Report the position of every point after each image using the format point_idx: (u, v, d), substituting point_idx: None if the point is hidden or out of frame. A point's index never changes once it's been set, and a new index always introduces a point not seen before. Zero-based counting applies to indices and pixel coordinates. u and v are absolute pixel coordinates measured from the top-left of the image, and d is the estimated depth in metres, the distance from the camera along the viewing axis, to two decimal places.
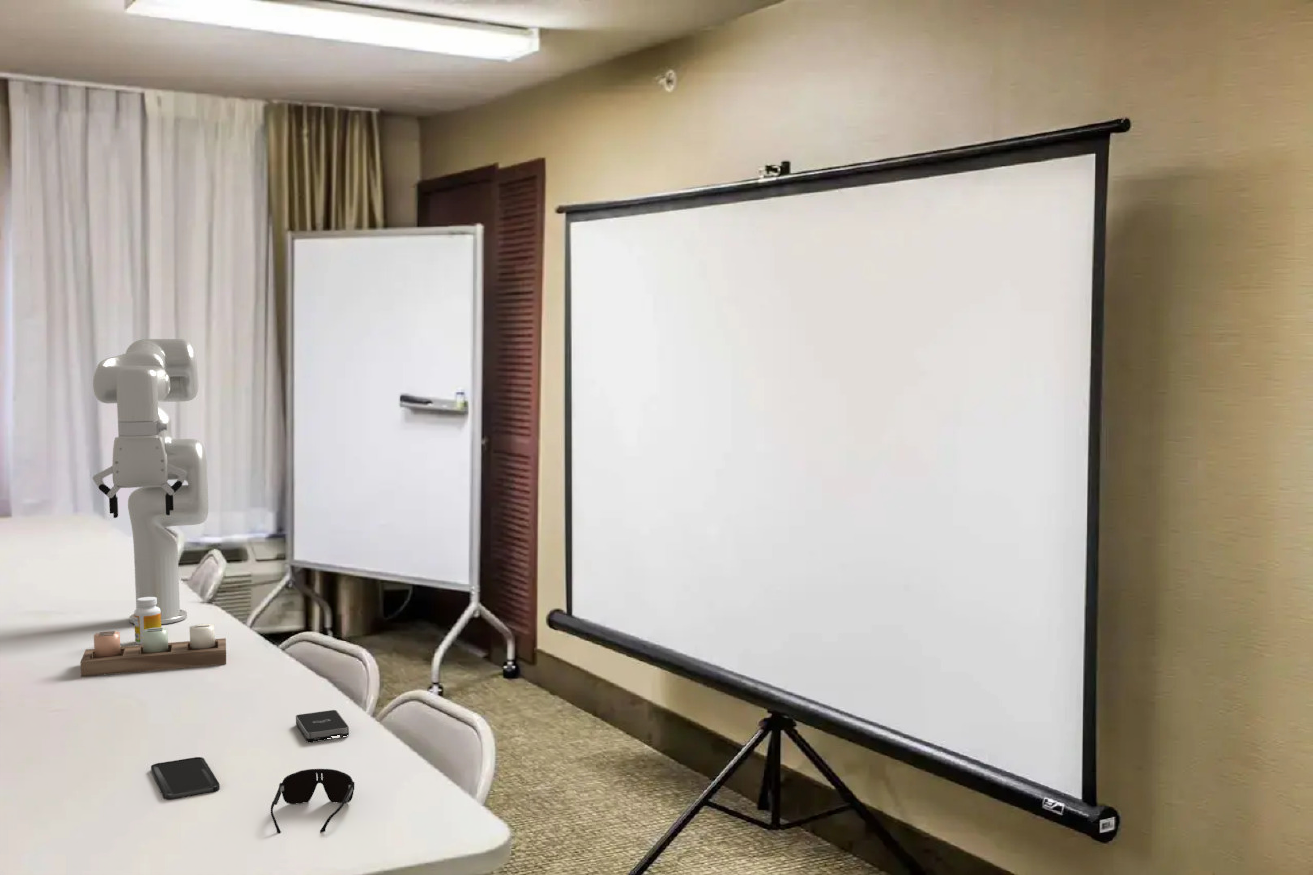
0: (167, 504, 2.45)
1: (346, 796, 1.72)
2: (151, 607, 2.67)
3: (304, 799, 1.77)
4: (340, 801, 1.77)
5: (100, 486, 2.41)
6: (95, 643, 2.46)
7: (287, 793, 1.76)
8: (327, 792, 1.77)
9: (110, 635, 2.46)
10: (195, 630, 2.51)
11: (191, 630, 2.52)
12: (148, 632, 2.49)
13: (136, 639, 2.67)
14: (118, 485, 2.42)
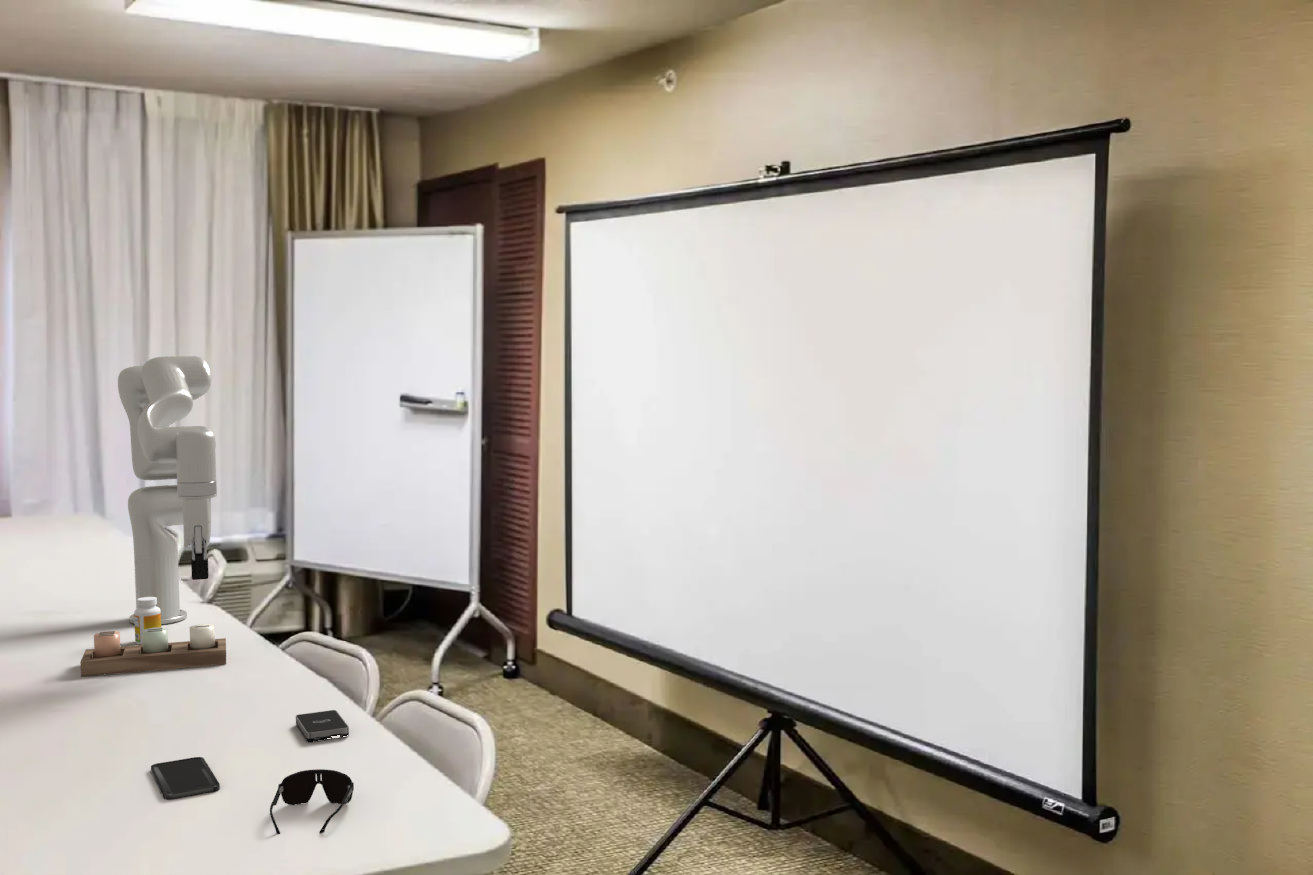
0: None
1: (345, 797, 1.72)
2: (151, 607, 2.67)
3: (303, 799, 1.77)
4: (339, 802, 1.76)
5: (203, 550, 2.50)
6: (95, 643, 2.46)
7: (286, 794, 1.76)
8: (326, 793, 1.77)
9: (110, 635, 2.46)
10: (195, 630, 2.51)
11: (191, 630, 2.52)
12: (148, 632, 2.49)
13: (136, 639, 2.67)
14: (208, 544, 2.49)
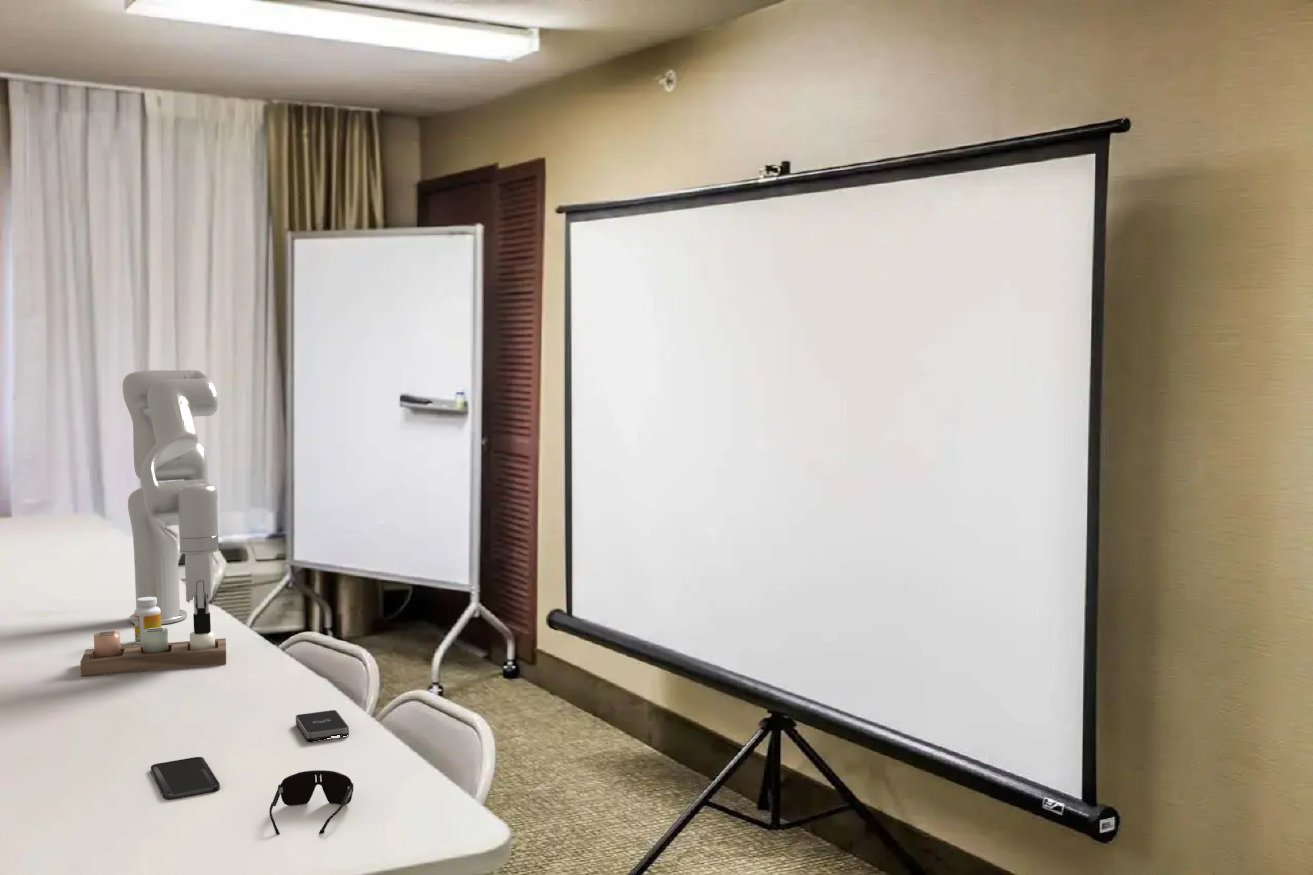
0: None
1: (345, 798, 1.72)
2: (151, 607, 2.68)
3: (303, 800, 1.76)
4: (339, 803, 1.76)
5: (205, 604, 2.51)
6: (95, 643, 2.46)
7: (286, 795, 1.76)
8: (326, 794, 1.76)
9: (110, 635, 2.46)
10: (195, 636, 2.51)
11: (191, 636, 2.52)
12: (148, 632, 2.49)
13: (136, 639, 2.67)
14: (210, 598, 2.50)
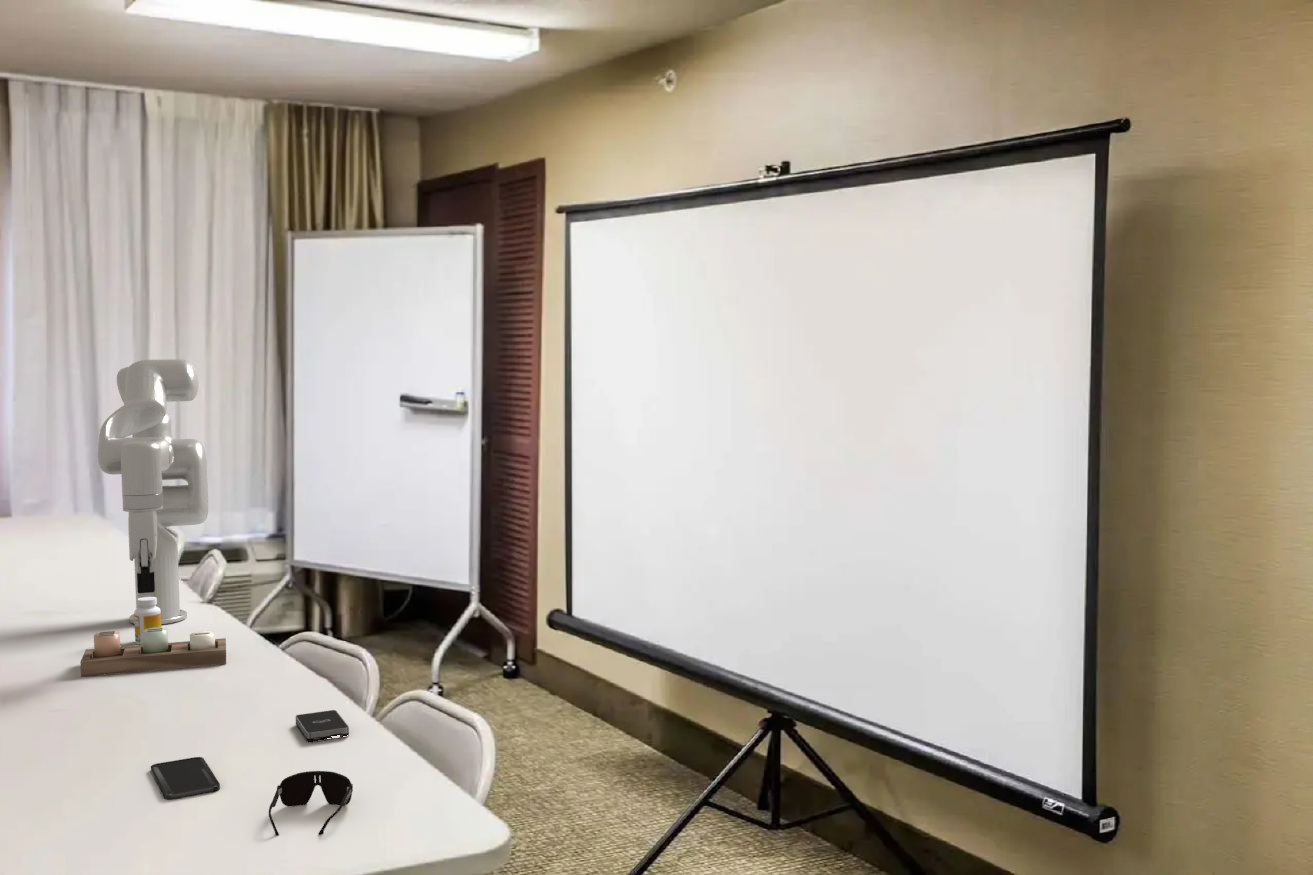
0: (154, 580, 2.50)
1: (344, 798, 1.71)
2: (151, 607, 2.67)
3: (302, 801, 1.76)
4: (338, 803, 1.76)
5: (149, 563, 2.46)
6: (95, 643, 2.46)
7: (285, 795, 1.75)
8: (325, 794, 1.76)
9: (110, 635, 2.46)
10: (195, 637, 2.51)
11: (191, 637, 2.52)
12: (148, 632, 2.49)
13: (136, 639, 2.67)
14: (154, 557, 2.46)
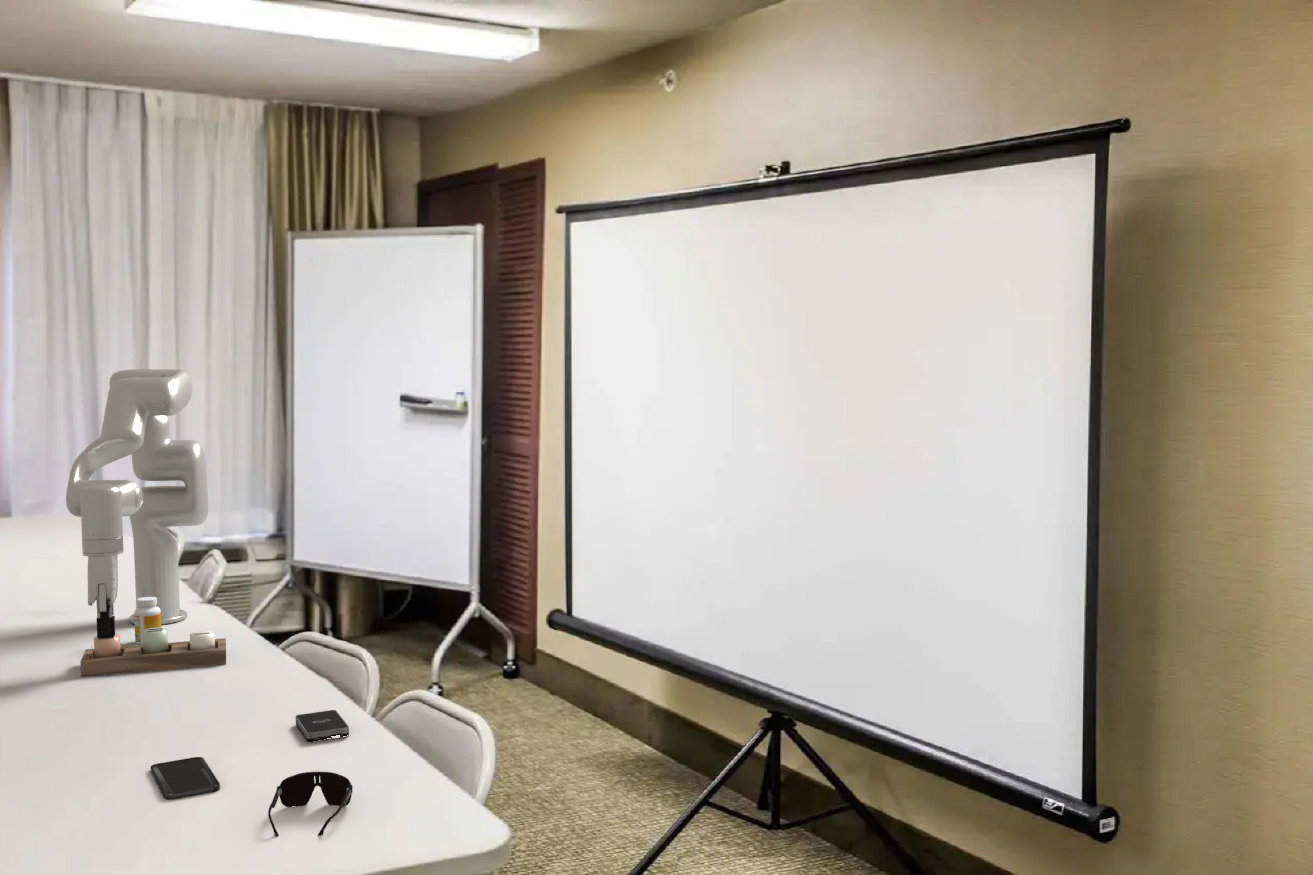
0: (114, 625, 2.48)
1: (344, 799, 1.71)
2: (151, 607, 2.67)
3: (302, 802, 1.76)
4: (338, 804, 1.76)
5: (108, 608, 2.44)
6: (95, 646, 2.46)
7: (285, 796, 1.75)
8: (325, 795, 1.76)
9: (110, 638, 2.46)
10: (195, 637, 2.51)
11: (191, 637, 2.52)
12: (148, 632, 2.49)
13: (136, 639, 2.67)
14: (113, 602, 2.44)
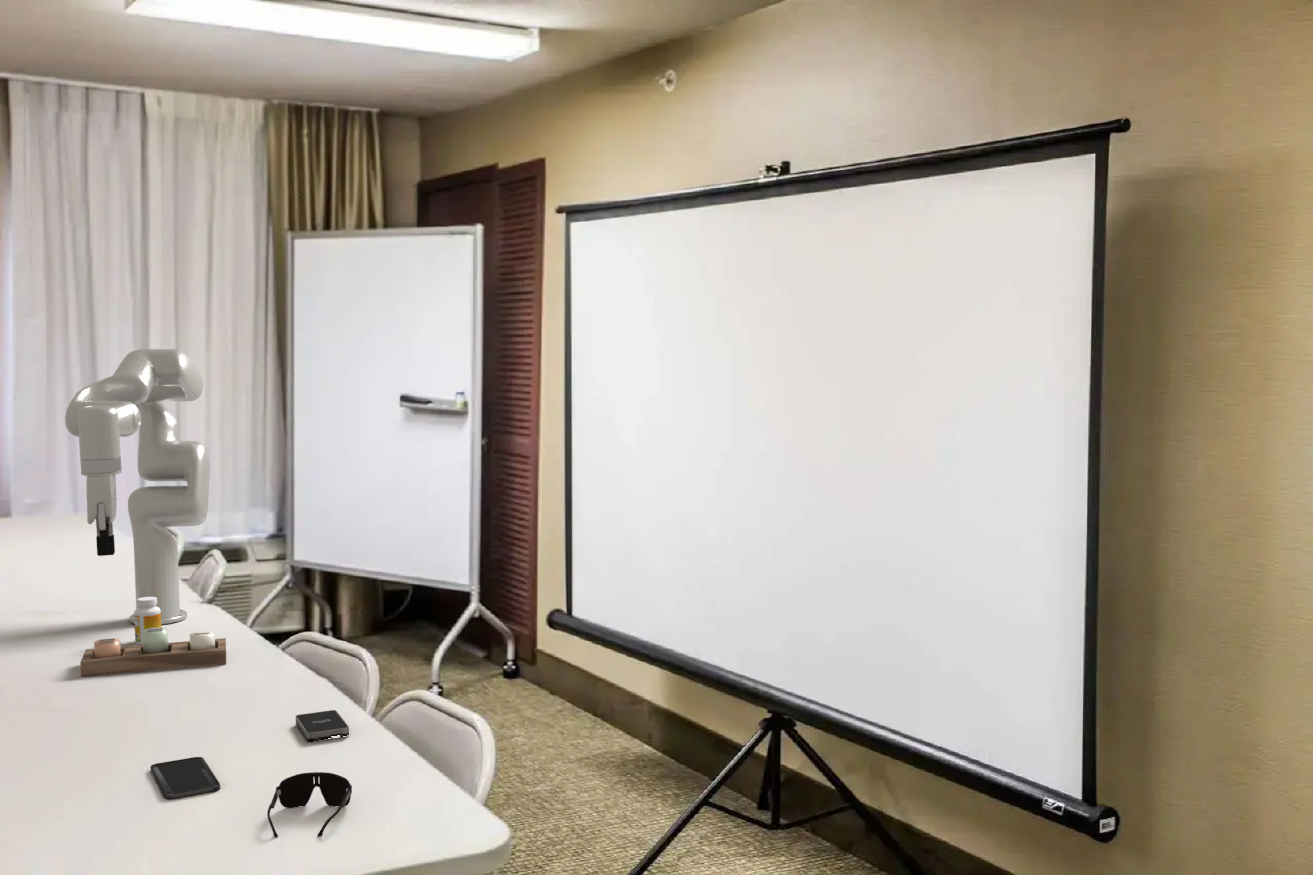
0: None
1: (343, 800, 1.71)
2: (151, 607, 2.68)
3: (301, 802, 1.75)
4: (337, 805, 1.75)
5: (107, 527, 2.49)
6: (95, 650, 2.46)
7: (284, 797, 1.75)
8: (324, 796, 1.76)
9: (110, 642, 2.46)
10: (195, 637, 2.51)
11: (191, 637, 2.52)
12: (148, 632, 2.49)
13: (136, 639, 2.67)
14: (112, 520, 2.48)
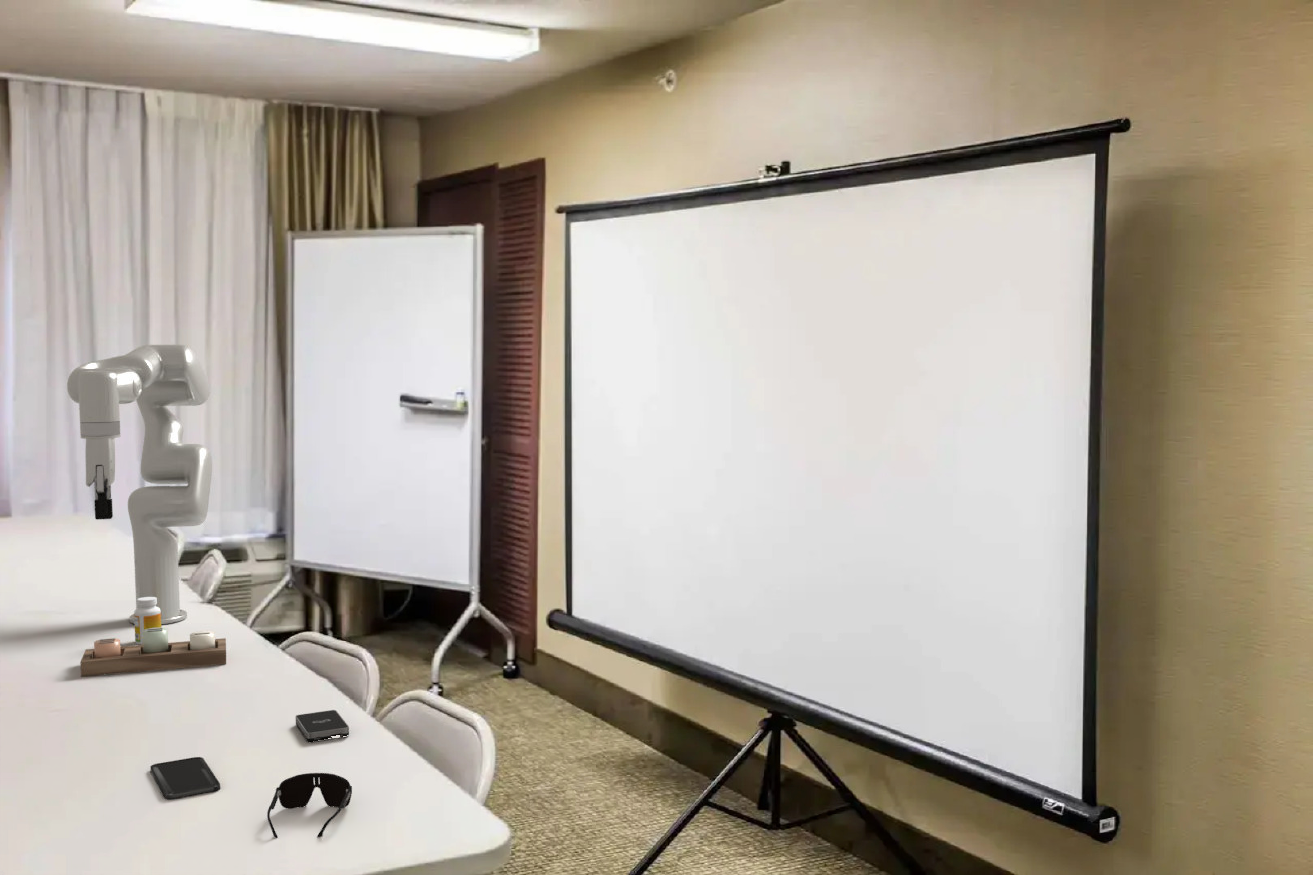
0: None
1: (343, 800, 1.71)
2: (151, 607, 2.67)
3: (301, 803, 1.75)
4: (337, 805, 1.75)
5: (106, 489, 2.52)
6: (95, 650, 2.46)
7: (284, 798, 1.74)
8: (324, 796, 1.75)
9: (110, 642, 2.46)
10: (195, 637, 2.51)
11: (191, 637, 2.52)
12: (148, 632, 2.49)
13: (136, 639, 2.67)
14: (110, 483, 2.51)
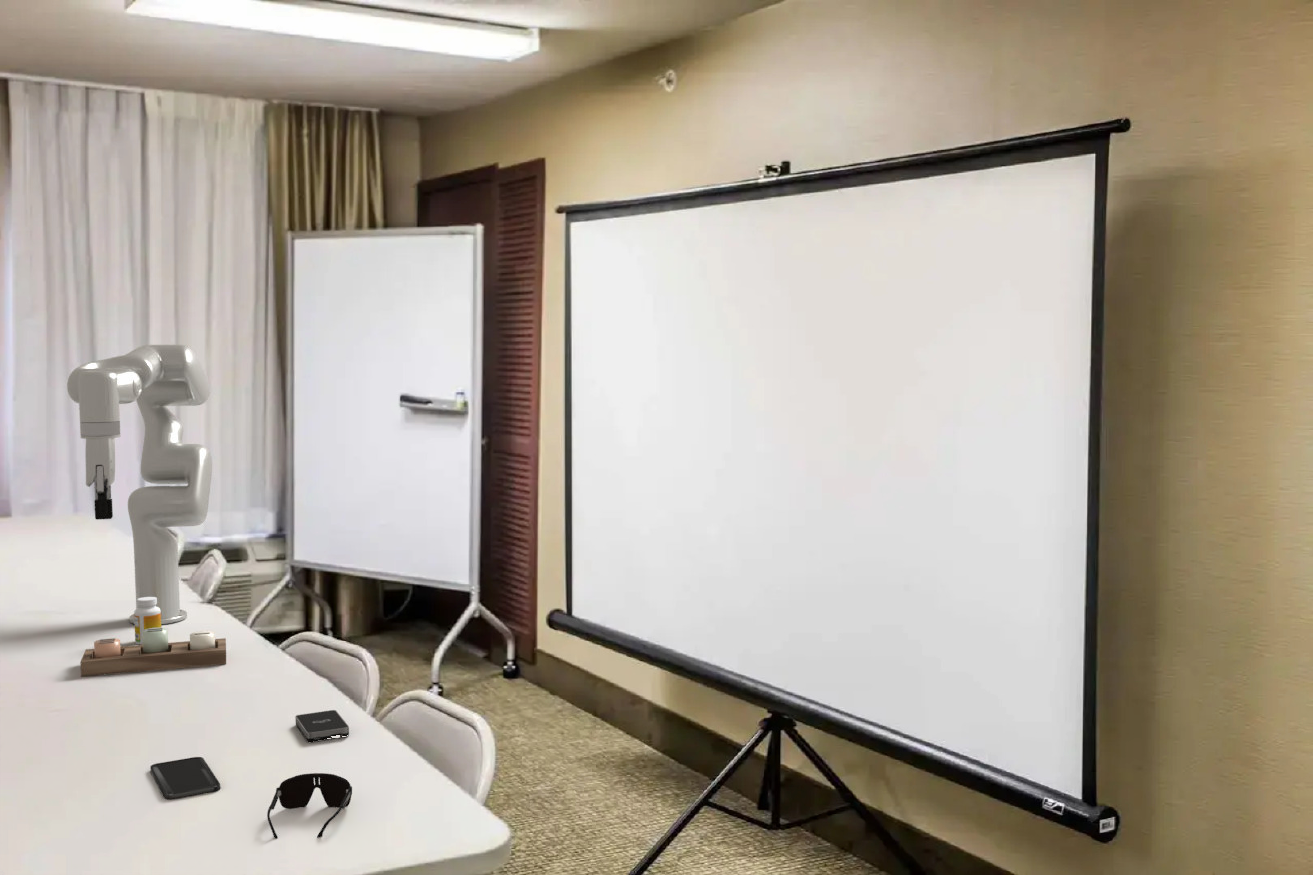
0: None
1: (344, 801, 1.70)
2: (151, 607, 2.67)
3: (301, 803, 1.75)
4: (338, 806, 1.75)
5: (106, 489, 2.52)
6: (95, 650, 2.46)
7: (284, 798, 1.74)
8: (324, 797, 1.75)
9: (110, 642, 2.46)
10: (195, 637, 2.51)
11: (191, 637, 2.52)
12: (148, 632, 2.49)
13: (136, 639, 2.67)
14: (110, 483, 2.51)
